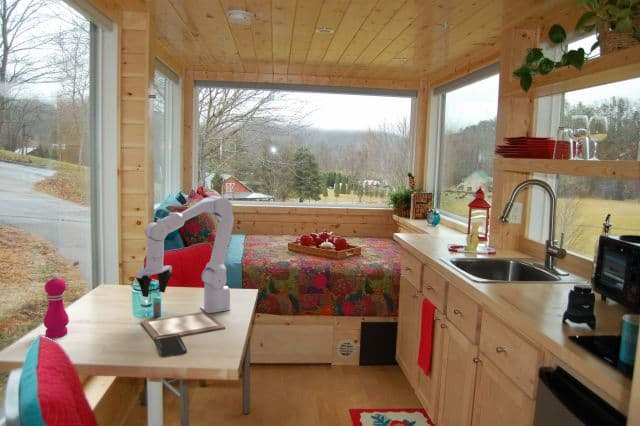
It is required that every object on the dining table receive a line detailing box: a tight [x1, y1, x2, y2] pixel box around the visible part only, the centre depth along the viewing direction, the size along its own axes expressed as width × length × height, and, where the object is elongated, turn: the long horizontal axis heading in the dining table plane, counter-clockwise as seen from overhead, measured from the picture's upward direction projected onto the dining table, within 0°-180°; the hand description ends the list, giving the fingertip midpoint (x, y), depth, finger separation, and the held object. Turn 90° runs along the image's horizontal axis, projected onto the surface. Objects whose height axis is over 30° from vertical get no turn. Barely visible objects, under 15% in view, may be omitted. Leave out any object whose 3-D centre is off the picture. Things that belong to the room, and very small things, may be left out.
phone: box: [154, 334, 188, 358], centre depth 153 cm, size 8×1×15 cm
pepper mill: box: [43, 274, 70, 339], centre depth 157 cm, size 7×7×20 cm
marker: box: [152, 296, 162, 318], centre depth 179 cm, size 3×3×7 cm
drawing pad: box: [140, 311, 226, 341], centre depth 171 cm, size 24×18×1 cm
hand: (153, 294), depth 174 cm, fingers open, 7 cm apart
